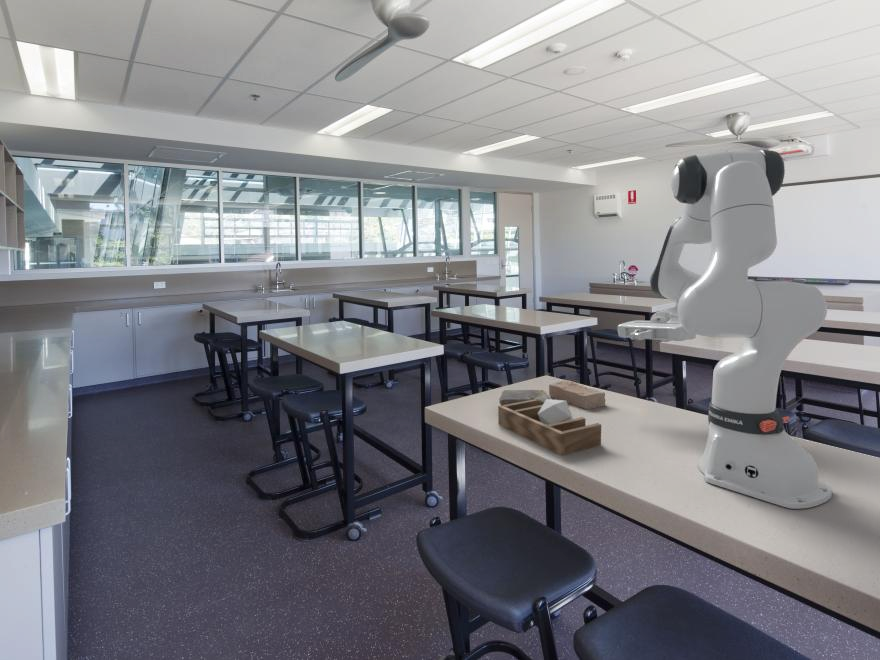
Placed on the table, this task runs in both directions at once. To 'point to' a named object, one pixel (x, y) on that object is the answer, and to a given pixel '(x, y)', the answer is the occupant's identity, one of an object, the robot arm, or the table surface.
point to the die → (554, 412)
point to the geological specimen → (522, 396)
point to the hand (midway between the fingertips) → (634, 337)
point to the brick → (577, 394)
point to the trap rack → (548, 428)
